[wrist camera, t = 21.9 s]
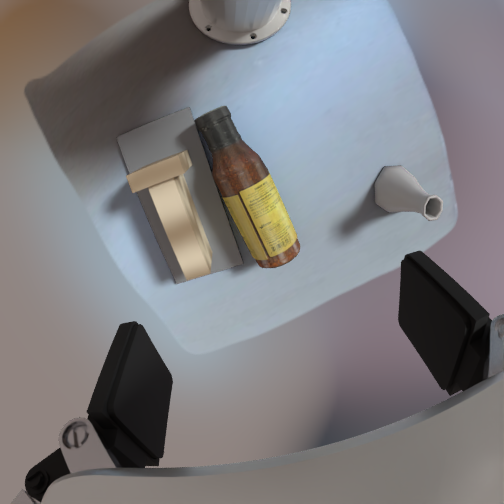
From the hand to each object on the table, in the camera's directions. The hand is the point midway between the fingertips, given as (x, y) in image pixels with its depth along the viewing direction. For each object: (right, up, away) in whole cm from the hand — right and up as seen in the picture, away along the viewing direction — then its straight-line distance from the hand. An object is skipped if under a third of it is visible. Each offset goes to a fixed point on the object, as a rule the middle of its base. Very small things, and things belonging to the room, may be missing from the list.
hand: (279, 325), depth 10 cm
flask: (+20, +12, +29) cm, 37 cm away
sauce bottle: (+3, +2, +29) cm, 29 cm away
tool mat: (-10, +9, +28) cm, 31 cm away
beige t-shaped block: (-10, +8, +28) cm, 31 cm away
